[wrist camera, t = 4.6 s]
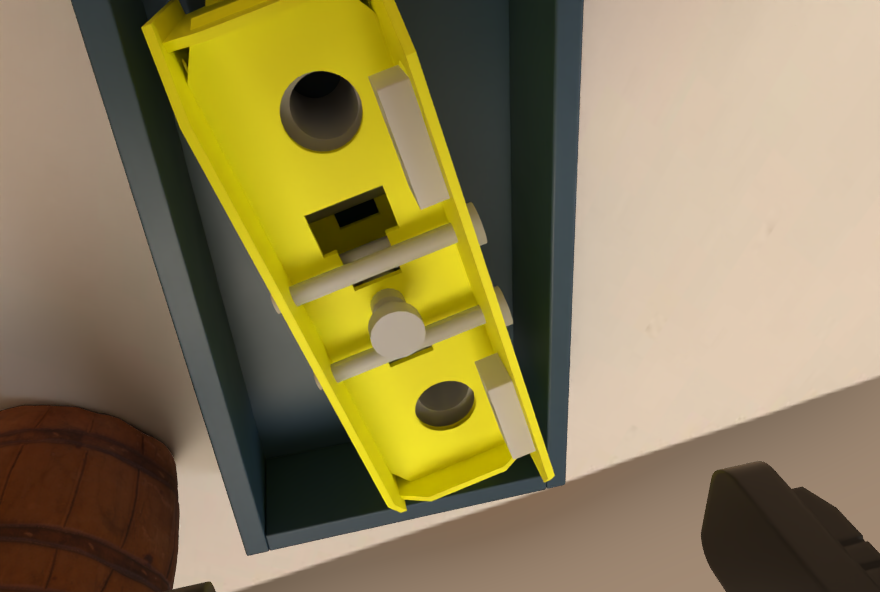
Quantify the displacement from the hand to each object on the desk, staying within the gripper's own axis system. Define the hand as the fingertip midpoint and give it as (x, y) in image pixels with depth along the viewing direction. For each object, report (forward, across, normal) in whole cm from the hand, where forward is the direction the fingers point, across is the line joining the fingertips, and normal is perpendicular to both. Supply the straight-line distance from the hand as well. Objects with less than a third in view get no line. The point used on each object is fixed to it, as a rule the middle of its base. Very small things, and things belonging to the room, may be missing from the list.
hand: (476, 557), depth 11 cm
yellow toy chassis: (+15, 0, 0) cm, 15 cm away
